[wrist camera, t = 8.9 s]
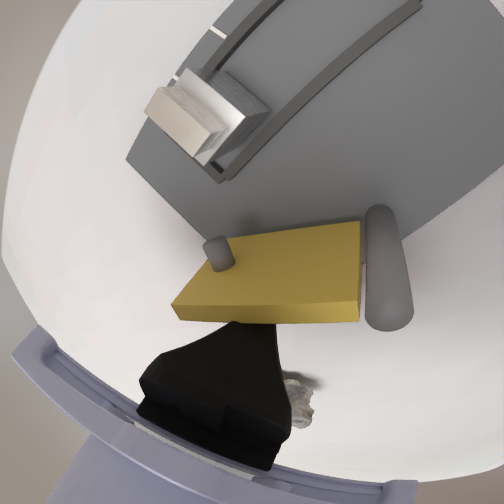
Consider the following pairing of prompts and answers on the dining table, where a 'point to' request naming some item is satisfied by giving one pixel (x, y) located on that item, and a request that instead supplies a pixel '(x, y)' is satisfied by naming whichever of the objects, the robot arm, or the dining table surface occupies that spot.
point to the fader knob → (206, 113)
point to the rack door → (278, 278)
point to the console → (345, 125)
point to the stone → (299, 403)
